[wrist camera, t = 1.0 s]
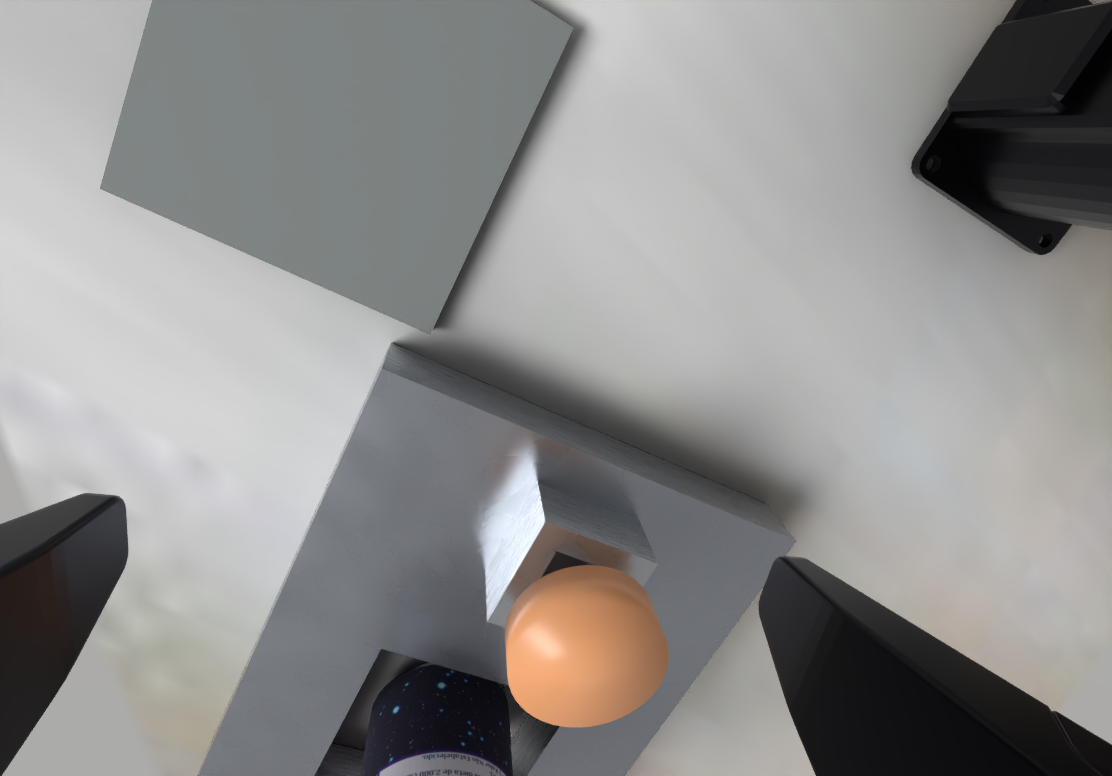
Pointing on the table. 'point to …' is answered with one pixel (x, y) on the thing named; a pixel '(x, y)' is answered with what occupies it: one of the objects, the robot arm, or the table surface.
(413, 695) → the beverage can
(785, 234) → the table surface
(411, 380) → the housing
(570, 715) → the peach dome cap
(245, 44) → the pad
